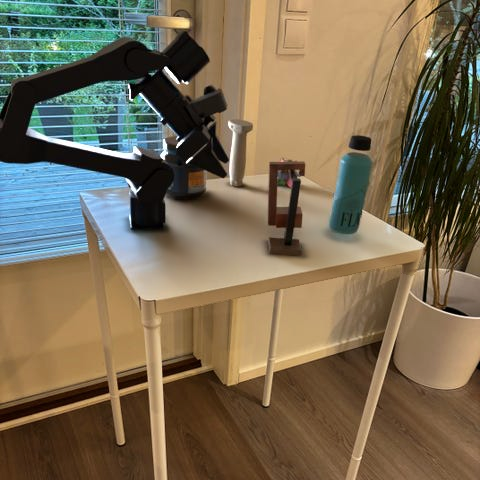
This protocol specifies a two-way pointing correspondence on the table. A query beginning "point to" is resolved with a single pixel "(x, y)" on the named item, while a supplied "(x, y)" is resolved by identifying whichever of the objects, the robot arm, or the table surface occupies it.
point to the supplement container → (183, 174)
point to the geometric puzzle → (285, 175)
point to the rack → (288, 223)
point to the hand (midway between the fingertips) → (226, 169)
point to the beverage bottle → (351, 187)
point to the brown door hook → (276, 214)
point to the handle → (238, 150)
